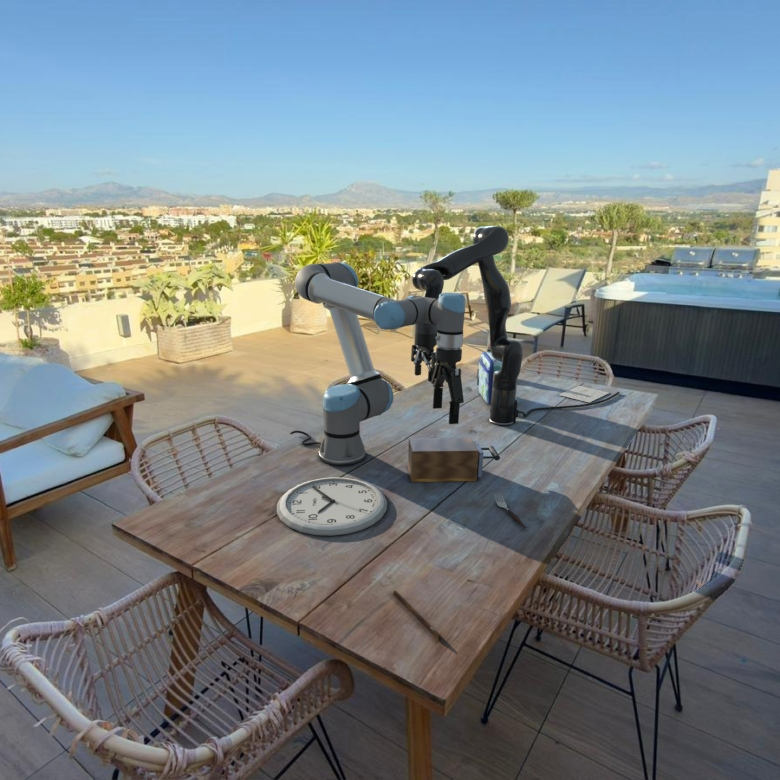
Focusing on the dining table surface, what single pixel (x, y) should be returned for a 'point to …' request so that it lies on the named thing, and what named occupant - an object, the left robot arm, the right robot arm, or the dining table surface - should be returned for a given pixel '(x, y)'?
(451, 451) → the cabinet
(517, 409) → the right robot arm
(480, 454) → the drawer
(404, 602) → the dark brown thin rod
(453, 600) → the dining table surface
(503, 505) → the fork
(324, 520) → the wall clock
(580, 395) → the invitation card
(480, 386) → the lunch box
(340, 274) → the left robot arm
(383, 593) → the dining table surface
